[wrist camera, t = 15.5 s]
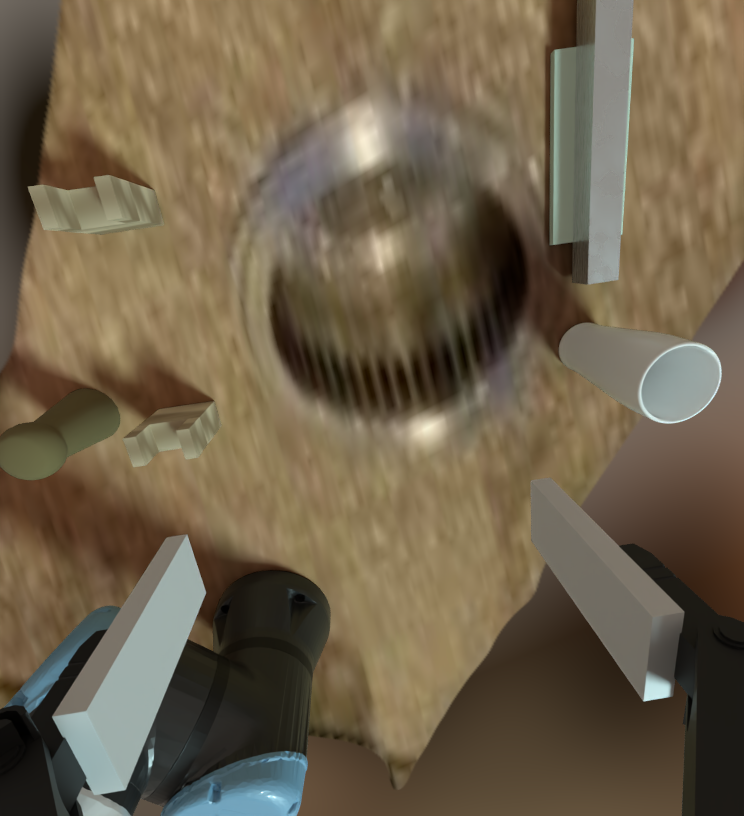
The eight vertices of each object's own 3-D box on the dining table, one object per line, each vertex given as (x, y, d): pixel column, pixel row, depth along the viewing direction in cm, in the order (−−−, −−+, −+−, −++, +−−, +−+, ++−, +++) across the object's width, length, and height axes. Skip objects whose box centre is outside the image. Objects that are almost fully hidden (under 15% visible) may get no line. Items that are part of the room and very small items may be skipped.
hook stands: (221, 425, 48) (198, 457, 40) (167, 433, 48) (133, 467, 40) (154, 190, 39) (109, 174, 32) (88, 200, 39) (27, 186, 32)
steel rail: (600, 278, 44) (618, 279, 41) (572, 282, 44) (587, 284, 41) (612, -18, 35) (635, -42, 33) (577, -13, 35) (597, -36, 32)
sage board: (617, 235, 43) (622, 234, 42) (549, 245, 43) (553, 244, 42) (628, 42, 37) (634, 38, 37) (550, 54, 37) (554, 49, 37)
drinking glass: (572, 387, 48) (665, 441, 34) (537, 346, 46) (620, 385, 32) (621, 345, 47) (739, 383, 33) (587, 301, 45) (696, 322, 31)
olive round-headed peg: (51, 396, 45) (-36, 438, 35) (104, 381, 45) (32, 419, 35) (79, 445, 47) (4, 498, 37) (129, 431, 47) (69, 480, 37)
